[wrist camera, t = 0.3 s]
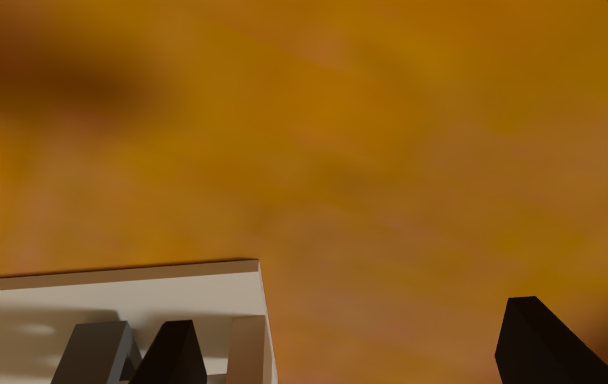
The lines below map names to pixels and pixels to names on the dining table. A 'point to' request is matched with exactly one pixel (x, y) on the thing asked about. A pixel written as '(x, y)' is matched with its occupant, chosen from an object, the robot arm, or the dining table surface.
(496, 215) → the dining table surface
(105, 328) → the grey square collar
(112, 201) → the dining table surface
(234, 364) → the pipe rig
